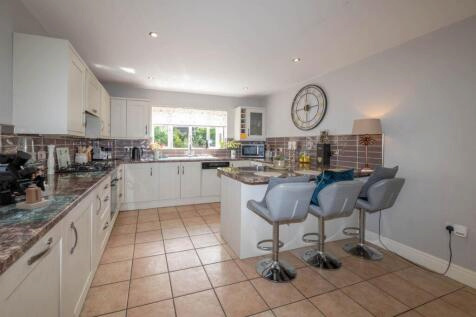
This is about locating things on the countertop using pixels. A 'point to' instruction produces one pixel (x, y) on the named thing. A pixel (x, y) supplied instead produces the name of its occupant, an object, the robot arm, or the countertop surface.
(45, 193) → the printed box
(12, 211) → the countertop surface
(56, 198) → the countertop surface
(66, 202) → the countertop surface
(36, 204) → the socket block
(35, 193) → the plug
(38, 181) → the robot arm
